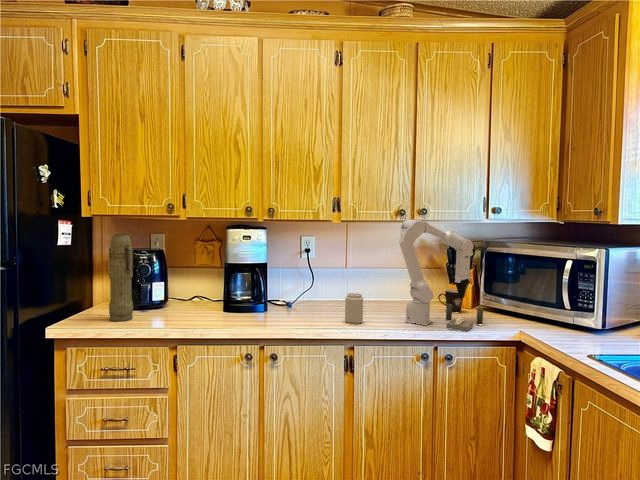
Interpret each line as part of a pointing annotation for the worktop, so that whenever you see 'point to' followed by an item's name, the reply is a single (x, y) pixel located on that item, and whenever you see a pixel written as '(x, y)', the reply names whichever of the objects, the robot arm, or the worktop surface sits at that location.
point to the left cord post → (449, 311)
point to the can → (354, 308)
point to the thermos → (120, 278)
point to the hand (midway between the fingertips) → (461, 297)
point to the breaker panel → (460, 325)
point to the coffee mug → (452, 299)
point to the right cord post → (479, 315)
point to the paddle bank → (460, 320)
